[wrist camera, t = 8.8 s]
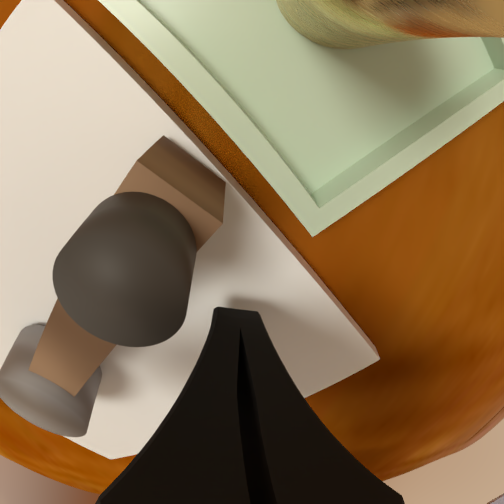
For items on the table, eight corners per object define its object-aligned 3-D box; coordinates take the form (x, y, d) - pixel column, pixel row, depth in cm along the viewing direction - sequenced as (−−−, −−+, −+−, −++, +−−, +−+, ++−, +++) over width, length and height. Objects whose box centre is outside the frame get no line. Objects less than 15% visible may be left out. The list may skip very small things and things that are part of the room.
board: (374, 346, 13) (380, 359, 13) (112, 451, 20) (110, 459, 19) (49, -13, 5) (35, -17, 4) (-80, 310, 12) (-85, 317, 11)
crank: (86, 397, 13) (69, 461, 10) (14, 354, 12) (-15, 415, 8) (261, 209, 8) (278, 312, 5) (126, 108, 7) (40, 146, 3)
